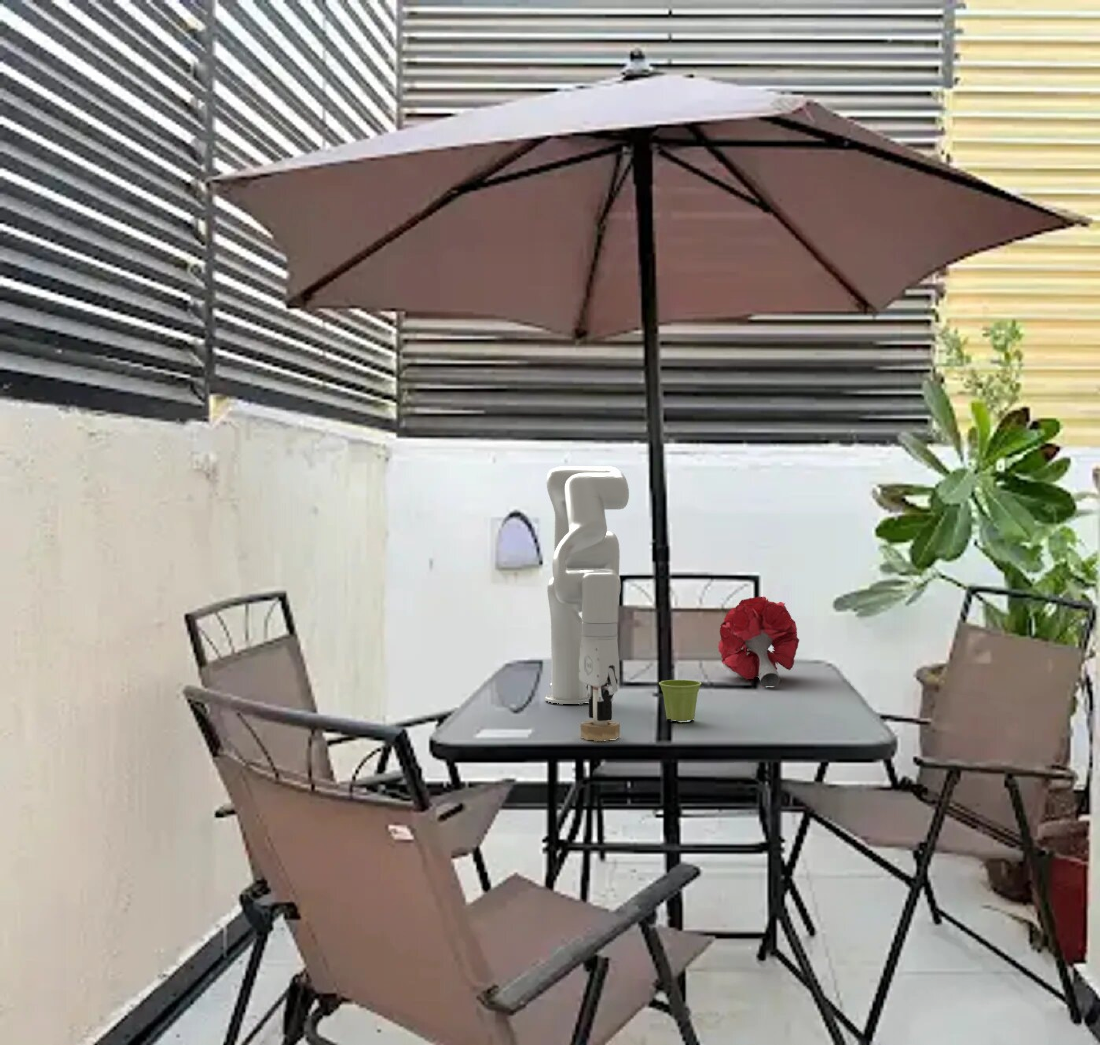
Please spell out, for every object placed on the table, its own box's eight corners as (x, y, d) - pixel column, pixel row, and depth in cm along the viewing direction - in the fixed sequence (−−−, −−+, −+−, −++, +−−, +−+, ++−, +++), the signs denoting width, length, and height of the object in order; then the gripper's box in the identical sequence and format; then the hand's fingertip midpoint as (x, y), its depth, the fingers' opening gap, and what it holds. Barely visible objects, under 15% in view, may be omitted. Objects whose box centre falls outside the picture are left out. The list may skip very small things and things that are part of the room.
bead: (576, 736, 251) (576, 722, 251) (607, 733, 254) (607, 719, 254) (592, 742, 244) (592, 728, 244) (624, 739, 247) (624, 725, 247)
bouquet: (811, 710, 319) (789, 643, 345) (814, 639, 307) (791, 575, 333) (730, 716, 320) (714, 649, 345) (730, 645, 308) (714, 581, 333)
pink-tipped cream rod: (590, 730, 250) (590, 682, 250) (603, 729, 251) (603, 681, 251) (597, 732, 247) (597, 684, 247) (610, 731, 249) (610, 683, 248)
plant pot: (668, 726, 262) (668, 686, 262) (653, 718, 271) (652, 680, 271) (708, 723, 265) (708, 684, 265) (691, 716, 274) (691, 678, 274)
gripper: (566, 628, 255) (566, 714, 255) (602, 635, 240) (602, 727, 240) (597, 626, 258) (597, 711, 258) (635, 633, 243) (635, 723, 243)
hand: (600, 718), depth 249 cm, fingers closed on pink-tipped cream rod, 3 cm apart
